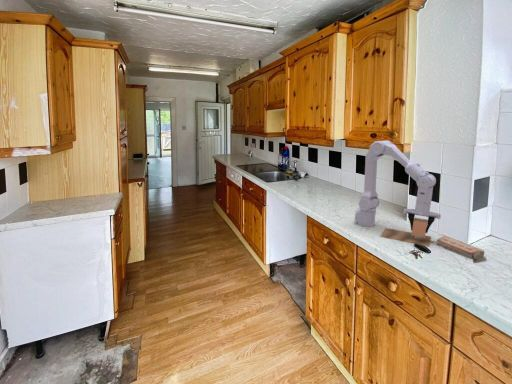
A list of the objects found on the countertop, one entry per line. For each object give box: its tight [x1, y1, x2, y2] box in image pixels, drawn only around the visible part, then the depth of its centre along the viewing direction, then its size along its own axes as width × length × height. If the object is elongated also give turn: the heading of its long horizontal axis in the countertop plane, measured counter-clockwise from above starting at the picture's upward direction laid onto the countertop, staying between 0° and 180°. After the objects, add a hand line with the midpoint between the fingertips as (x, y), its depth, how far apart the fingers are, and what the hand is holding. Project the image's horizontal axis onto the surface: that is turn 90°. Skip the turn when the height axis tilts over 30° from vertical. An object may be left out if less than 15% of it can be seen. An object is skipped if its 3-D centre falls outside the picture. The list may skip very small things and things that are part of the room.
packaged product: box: [436, 235, 487, 263], centre depth 127 cm, size 18×5×10 cm
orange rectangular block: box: [411, 217, 428, 237], centre depth 136 cm, size 5×5×7 cm
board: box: [379, 227, 432, 248], centre depth 140 cm, size 20×14×1 cm
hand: (419, 231), depth 137 cm, fingers closed on orange rectangular block, 5 cm apart
